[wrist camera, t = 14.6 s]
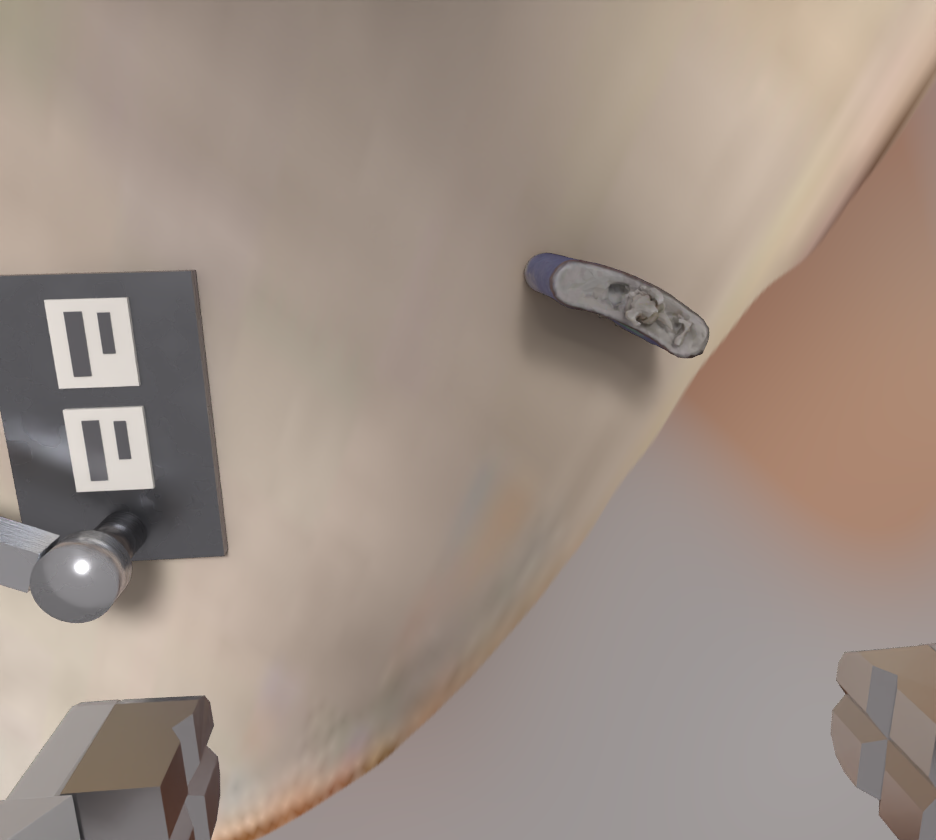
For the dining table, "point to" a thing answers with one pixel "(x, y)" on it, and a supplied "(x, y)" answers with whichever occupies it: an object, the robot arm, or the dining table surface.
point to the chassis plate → (161, 393)
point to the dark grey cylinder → (125, 530)
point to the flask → (620, 301)
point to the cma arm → (64, 569)
